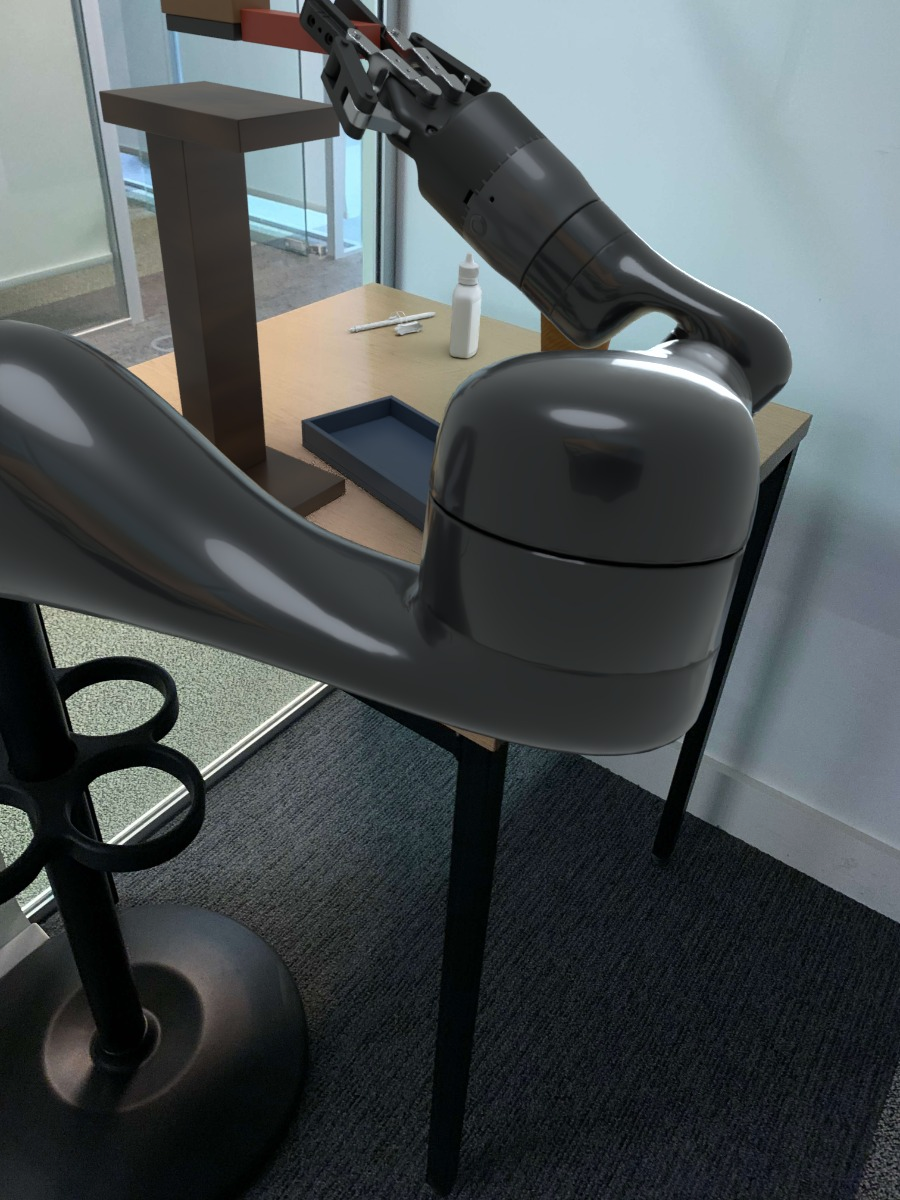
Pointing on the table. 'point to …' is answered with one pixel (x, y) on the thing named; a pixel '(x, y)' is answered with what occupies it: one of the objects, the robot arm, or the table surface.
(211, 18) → the brush
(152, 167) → the shelf stand
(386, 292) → the table surface
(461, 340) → the eye dropper bottle
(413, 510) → the tray
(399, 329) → the picture light
